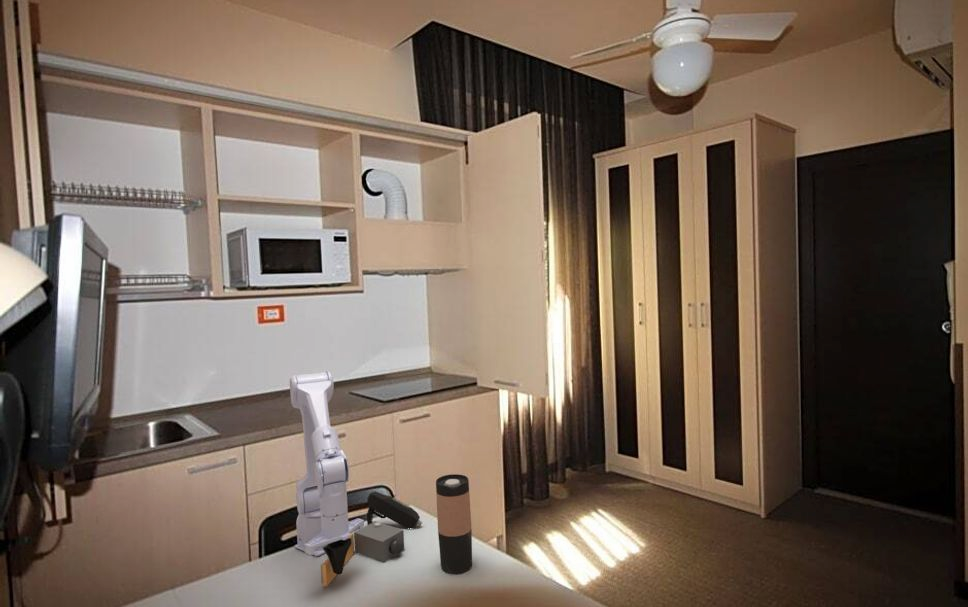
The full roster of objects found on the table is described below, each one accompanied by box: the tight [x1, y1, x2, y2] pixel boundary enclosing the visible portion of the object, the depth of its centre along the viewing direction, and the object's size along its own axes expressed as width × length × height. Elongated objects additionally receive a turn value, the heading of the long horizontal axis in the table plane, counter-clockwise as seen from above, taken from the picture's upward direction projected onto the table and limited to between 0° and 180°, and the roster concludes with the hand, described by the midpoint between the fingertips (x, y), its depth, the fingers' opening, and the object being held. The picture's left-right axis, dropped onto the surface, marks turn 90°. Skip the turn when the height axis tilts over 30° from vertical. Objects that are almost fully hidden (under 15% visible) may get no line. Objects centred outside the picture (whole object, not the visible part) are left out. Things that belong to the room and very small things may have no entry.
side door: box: [320, 532, 355, 588], centre depth 125 cm, size 15×1×5 cm, turn 171°
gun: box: [366, 491, 423, 530], centre depth 146 cm, size 3×16×10 cm, turn 79°
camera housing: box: [353, 521, 405, 563], centre depth 132 cm, size 12×7×6 cm, turn 54°
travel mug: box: [435, 473, 473, 575], centre depth 123 cm, size 8×8×20 cm
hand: (337, 572), depth 119 cm, fingers closed
